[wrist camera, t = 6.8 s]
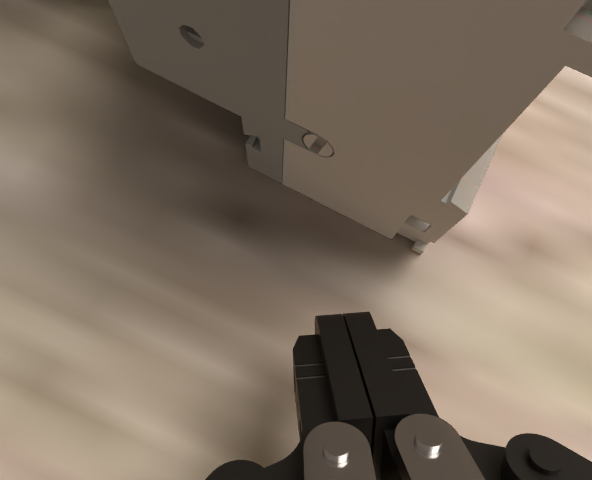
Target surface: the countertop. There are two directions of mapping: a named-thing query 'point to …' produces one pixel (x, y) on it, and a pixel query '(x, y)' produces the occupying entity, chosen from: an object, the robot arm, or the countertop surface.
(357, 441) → the robot arm
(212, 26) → the circuit breaker
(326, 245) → the countertop surface
